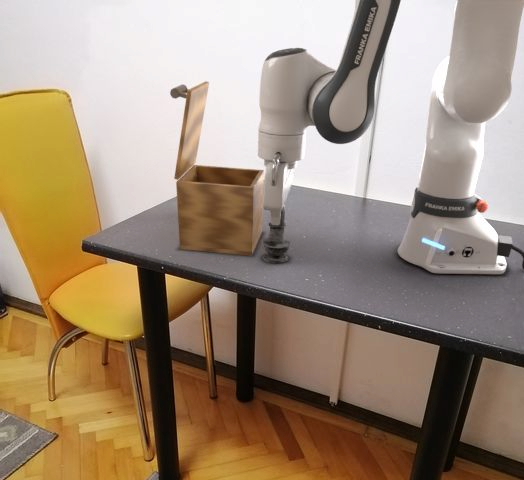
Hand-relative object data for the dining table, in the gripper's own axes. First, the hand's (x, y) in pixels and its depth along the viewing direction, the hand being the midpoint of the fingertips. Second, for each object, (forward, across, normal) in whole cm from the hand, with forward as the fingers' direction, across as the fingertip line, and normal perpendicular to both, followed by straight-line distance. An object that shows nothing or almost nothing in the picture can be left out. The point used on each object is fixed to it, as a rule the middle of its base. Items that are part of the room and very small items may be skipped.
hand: (277, 218), depth 107 cm
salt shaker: (+9, 0, 0) cm, 9 cm away
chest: (+9, +7, +13) cm, 17 cm away
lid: (-14, +7, +19) cm, 25 cm away
